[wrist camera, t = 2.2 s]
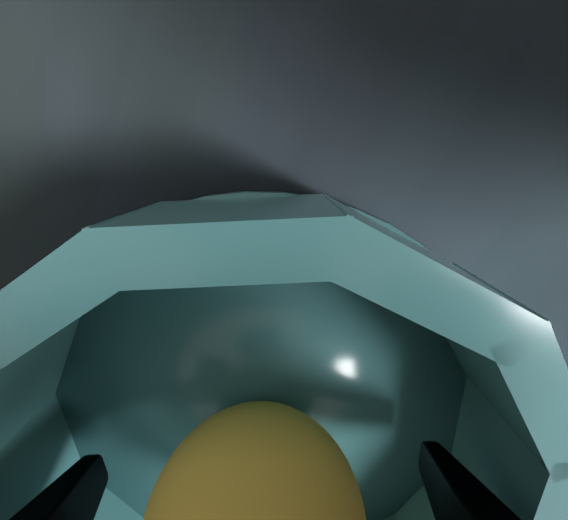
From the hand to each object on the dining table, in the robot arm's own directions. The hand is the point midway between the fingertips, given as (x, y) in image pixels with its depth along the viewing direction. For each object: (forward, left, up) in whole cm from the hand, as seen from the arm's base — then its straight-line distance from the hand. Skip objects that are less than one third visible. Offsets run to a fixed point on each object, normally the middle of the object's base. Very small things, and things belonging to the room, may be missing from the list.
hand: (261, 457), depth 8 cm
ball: (0, 0, +2) cm, 2 cm away
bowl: (0, 0, -2) cm, 2 cm away
